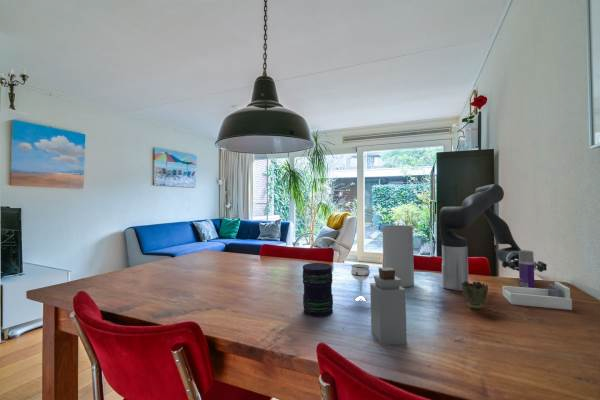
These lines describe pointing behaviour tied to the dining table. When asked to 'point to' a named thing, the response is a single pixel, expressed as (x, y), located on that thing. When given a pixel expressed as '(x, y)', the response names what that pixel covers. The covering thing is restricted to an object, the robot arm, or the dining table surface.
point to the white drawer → (538, 297)
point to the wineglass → (360, 277)
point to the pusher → (554, 291)
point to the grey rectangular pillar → (399, 252)
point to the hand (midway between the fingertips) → (527, 268)
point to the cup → (475, 294)
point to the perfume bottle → (388, 308)
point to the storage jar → (317, 289)
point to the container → (526, 269)
